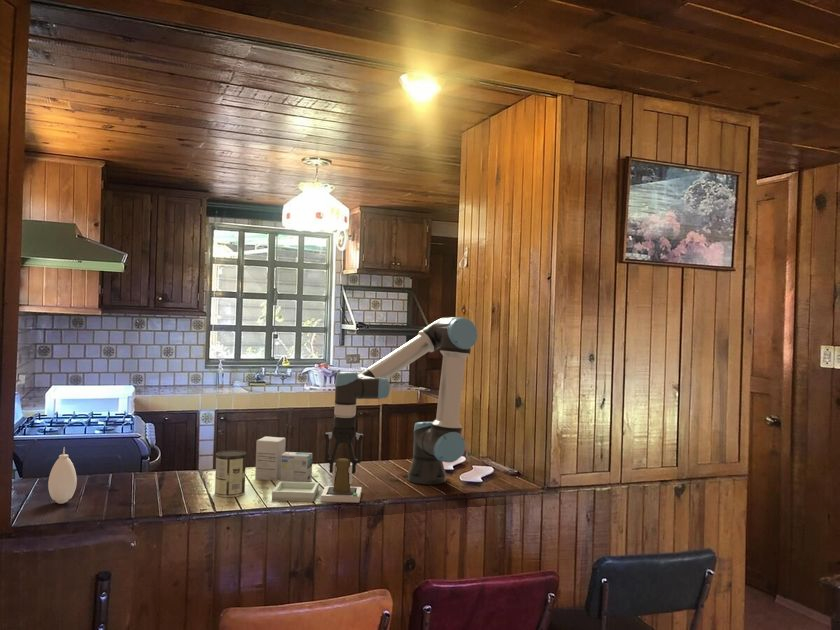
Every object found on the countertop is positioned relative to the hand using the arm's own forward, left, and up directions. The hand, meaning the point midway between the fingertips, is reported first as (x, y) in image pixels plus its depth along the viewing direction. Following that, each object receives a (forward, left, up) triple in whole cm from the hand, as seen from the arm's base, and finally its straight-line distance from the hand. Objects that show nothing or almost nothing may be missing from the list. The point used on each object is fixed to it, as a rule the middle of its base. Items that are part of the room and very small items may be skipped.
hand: (342, 482), depth 229 cm
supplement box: (+30, -25, -5) cm, 39 cm away
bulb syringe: (+88, +17, -5) cm, 90 cm away
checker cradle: (0, 0, -5) cm, 5 cm away
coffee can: (+39, 0, -5) cm, 39 cm away
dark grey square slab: (0, 0, -4) cm, 4 cm away
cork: (0, 0, -3) cm, 3 cm away
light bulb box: (+19, -19, -5) cm, 27 cm away
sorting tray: (+16, 0, -5) cm, 17 cm away
